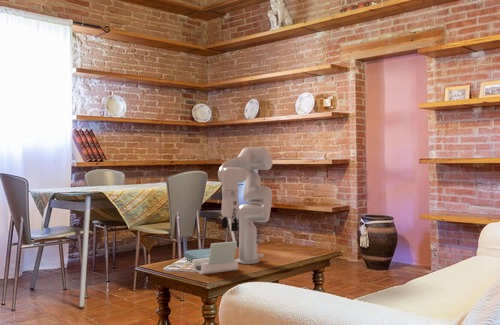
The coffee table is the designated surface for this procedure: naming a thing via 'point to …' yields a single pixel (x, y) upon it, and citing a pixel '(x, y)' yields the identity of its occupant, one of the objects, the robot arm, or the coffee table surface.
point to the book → (197, 254)
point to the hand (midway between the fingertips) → (229, 229)
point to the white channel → (213, 266)
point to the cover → (222, 252)
